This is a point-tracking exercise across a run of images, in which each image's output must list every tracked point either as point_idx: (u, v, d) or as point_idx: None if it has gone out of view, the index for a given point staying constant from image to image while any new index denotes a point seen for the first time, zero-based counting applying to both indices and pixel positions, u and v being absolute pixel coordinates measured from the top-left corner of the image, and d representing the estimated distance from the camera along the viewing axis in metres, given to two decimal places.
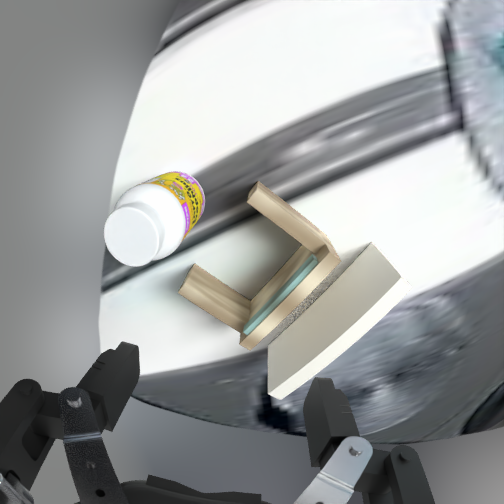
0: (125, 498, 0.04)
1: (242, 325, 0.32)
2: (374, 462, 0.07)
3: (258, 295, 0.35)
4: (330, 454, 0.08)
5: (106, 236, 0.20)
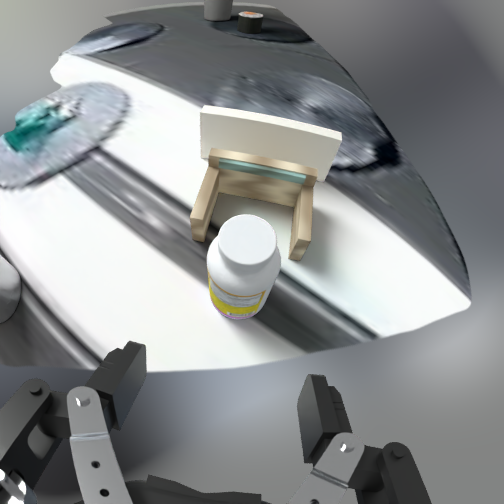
0: (129, 499, 0.04)
1: (305, 187, 0.36)
2: (366, 459, 0.07)
3: (283, 201, 0.40)
4: (322, 450, 0.08)
5: (259, 259, 0.22)
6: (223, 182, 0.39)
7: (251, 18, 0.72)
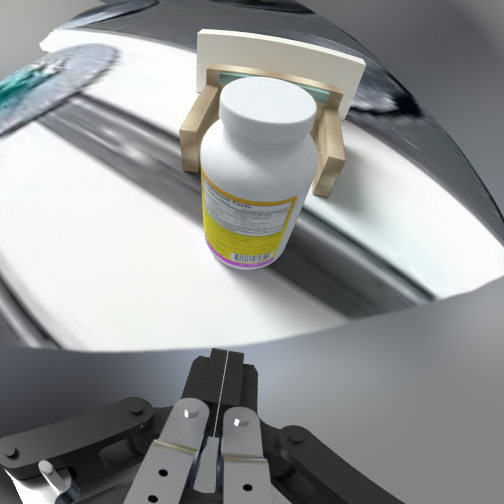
0: None
1: (329, 108, 0.26)
2: (264, 438, 0.08)
3: None
4: (221, 422, 0.09)
5: (292, 119, 0.11)
6: None
7: None
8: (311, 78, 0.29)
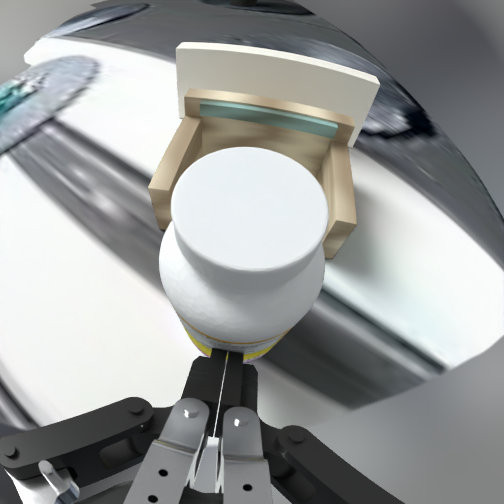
0: None
1: (336, 144, 0.22)
2: (264, 438, 0.08)
3: None
4: (222, 422, 0.09)
5: (286, 254, 0.07)
6: (208, 141, 0.24)
7: None
8: (314, 100, 0.25)
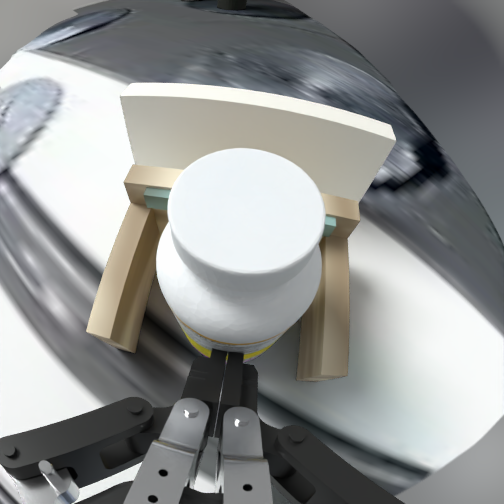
0: None
1: (332, 242, 0.17)
2: (264, 438, 0.08)
3: None
4: (222, 422, 0.09)
5: (289, 253, 0.07)
6: None
7: None
8: (306, 160, 0.21)
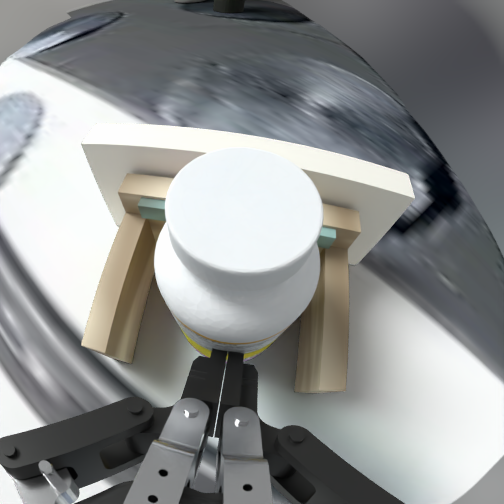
0: None
1: (332, 253, 0.17)
2: (264, 438, 0.08)
3: None
4: (222, 422, 0.09)
5: (288, 252, 0.07)
6: None
7: None
8: None
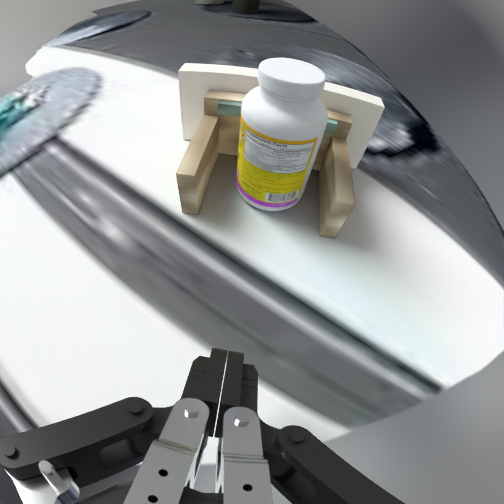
0: None
1: (336, 139, 0.25)
2: (264, 438, 0.08)
3: None
4: (222, 422, 0.09)
5: (312, 81, 0.16)
6: (224, 137, 0.27)
7: None
8: None
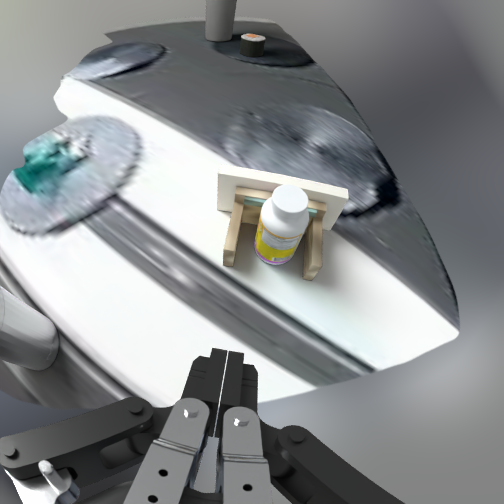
0: None
1: (316, 219, 0.44)
2: (264, 438, 0.08)
3: None
4: (222, 422, 0.09)
5: (300, 209, 0.34)
6: (246, 214, 0.46)
7: (254, 41, 0.78)
8: None
